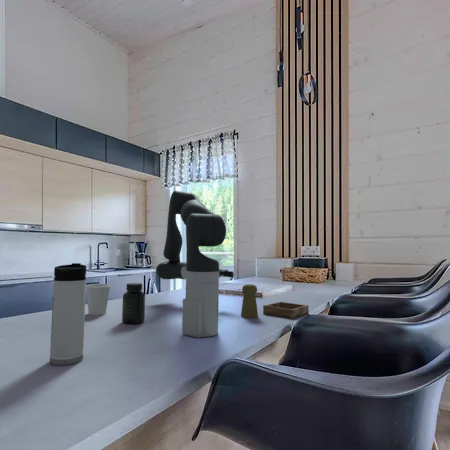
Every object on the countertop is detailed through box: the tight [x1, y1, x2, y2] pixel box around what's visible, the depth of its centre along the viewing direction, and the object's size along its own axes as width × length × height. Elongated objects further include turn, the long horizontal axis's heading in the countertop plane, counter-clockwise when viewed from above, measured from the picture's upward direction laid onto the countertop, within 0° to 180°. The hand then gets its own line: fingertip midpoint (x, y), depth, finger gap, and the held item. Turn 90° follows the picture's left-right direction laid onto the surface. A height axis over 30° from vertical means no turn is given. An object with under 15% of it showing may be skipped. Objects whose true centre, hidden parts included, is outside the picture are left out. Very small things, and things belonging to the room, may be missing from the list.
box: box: [262, 301, 310, 320], centre depth 123 cm, size 12×12×3 cm
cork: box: [240, 283, 259, 319], centre depth 118 cm, size 6×6×11 cm
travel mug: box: [49, 262, 87, 366], centre depth 71 cm, size 6×7×20 cm
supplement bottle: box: [121, 282, 146, 326], centre depth 107 cm, size 7×7×12 cm
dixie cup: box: [86, 283, 111, 316], centre depth 119 cm, size 8×8×10 cm
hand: (225, 275), depth 126 cm, fingers open, 8 cm apart
